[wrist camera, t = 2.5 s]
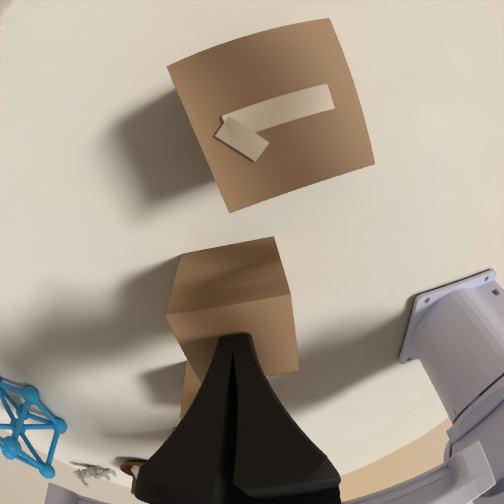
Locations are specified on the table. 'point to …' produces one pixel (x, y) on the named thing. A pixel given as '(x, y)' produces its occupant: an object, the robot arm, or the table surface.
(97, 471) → the soldier figure
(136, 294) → the table surface
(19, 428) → the molecular structure
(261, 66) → the cube one
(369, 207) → the table surface
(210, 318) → the plain cube
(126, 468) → the cup and saucer
